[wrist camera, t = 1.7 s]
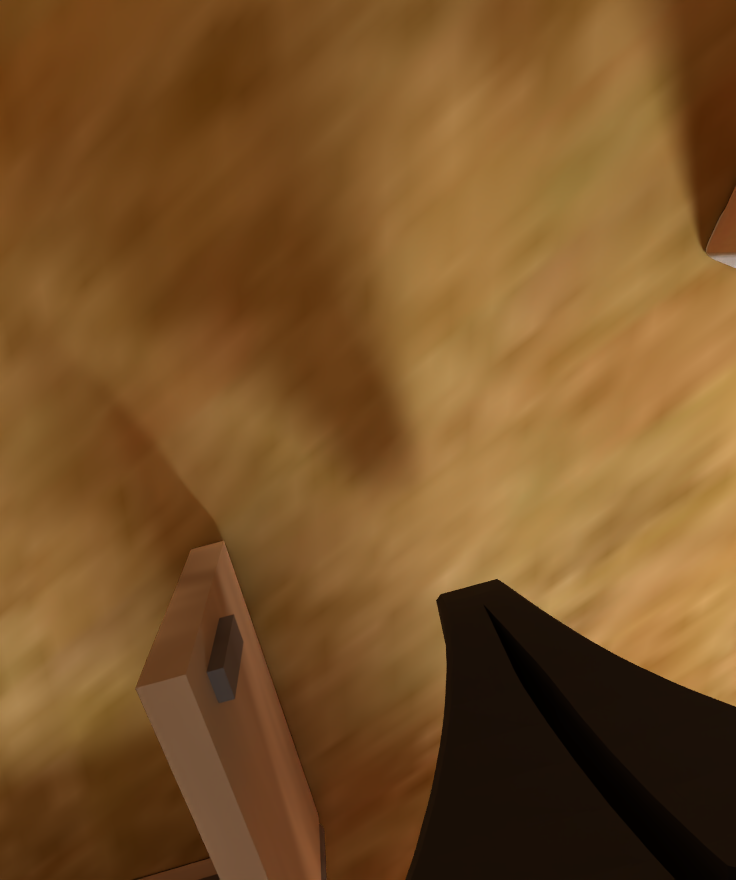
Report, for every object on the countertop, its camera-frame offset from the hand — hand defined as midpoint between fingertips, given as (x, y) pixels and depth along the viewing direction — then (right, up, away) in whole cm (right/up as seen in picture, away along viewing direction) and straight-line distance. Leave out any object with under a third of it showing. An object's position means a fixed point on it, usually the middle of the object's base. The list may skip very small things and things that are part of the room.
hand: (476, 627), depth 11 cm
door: (-5, -3, +3) cm, 7 cm away
